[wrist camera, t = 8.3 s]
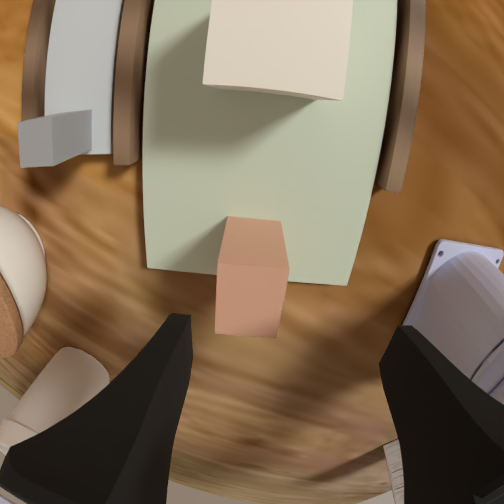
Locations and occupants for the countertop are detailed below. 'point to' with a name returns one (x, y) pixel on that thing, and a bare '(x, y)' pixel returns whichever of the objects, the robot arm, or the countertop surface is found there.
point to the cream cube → (279, 47)
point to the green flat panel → (259, 167)
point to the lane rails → (133, 69)
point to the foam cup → (54, 395)
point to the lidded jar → (19, 279)
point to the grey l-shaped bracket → (76, 85)
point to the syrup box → (395, 470)
